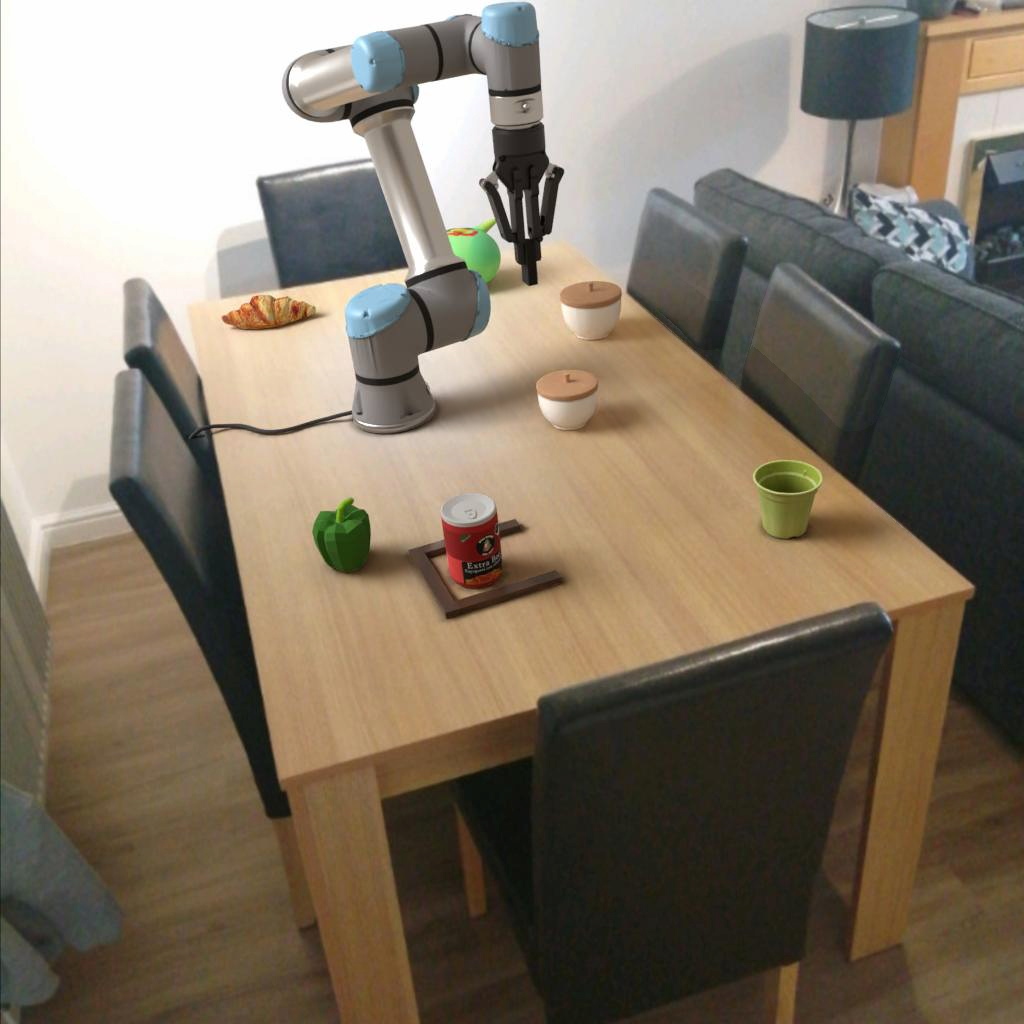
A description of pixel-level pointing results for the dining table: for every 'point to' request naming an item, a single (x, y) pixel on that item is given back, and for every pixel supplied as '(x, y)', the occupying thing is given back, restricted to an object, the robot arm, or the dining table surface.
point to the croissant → (268, 312)
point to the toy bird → (477, 249)
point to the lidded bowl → (591, 308)
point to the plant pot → (786, 496)
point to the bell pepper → (343, 536)
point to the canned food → (472, 539)
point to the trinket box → (568, 398)
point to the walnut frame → (480, 599)
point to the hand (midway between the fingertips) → (530, 282)
